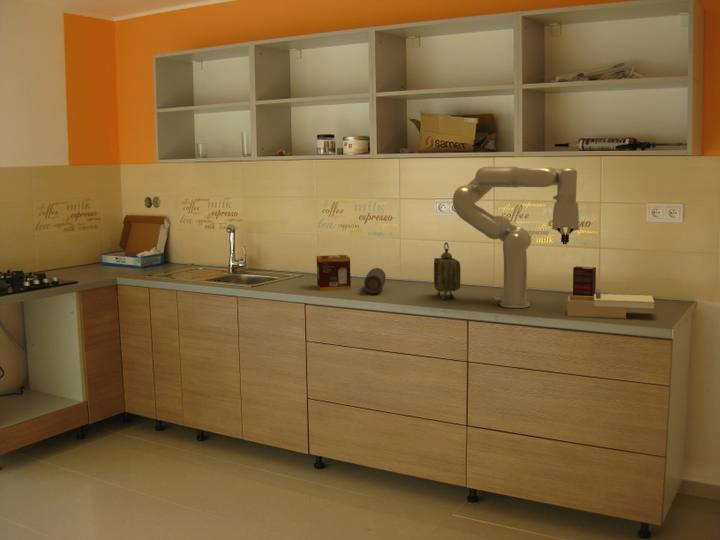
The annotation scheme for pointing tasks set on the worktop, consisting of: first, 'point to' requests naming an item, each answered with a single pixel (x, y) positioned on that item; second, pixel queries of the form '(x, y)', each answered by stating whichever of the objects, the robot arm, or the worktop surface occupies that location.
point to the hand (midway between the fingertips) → (564, 244)
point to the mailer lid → (623, 300)
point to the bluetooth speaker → (374, 280)
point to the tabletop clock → (446, 273)
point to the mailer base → (592, 308)
